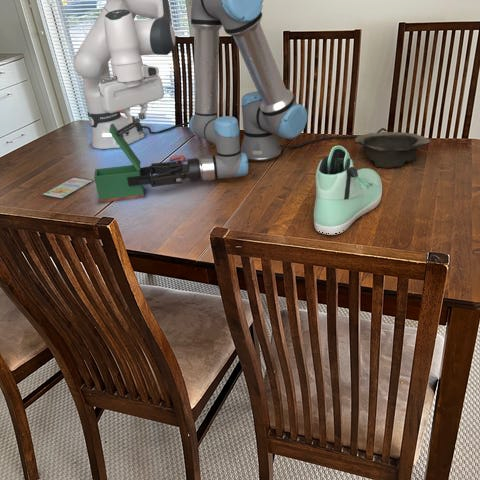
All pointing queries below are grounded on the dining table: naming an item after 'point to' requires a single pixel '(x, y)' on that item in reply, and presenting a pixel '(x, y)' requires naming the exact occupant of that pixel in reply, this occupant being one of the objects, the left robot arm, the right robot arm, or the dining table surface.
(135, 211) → the dining table surface
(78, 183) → the baking ingredient package
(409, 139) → the stone bowl
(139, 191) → the chest
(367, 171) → the sneaker
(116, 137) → the lid
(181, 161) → the candy cane
